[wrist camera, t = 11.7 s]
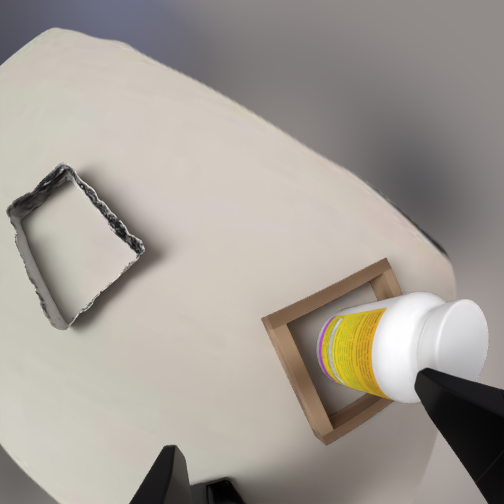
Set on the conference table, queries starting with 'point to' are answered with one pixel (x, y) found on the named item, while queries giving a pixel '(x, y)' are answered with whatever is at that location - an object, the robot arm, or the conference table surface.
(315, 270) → the conference table surface
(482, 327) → the supplement bottle
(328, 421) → the brown wooden square frame
